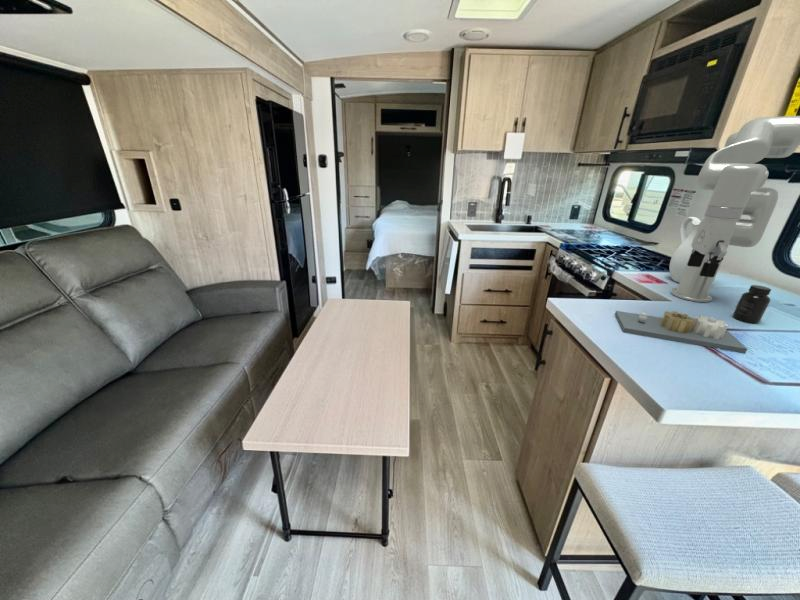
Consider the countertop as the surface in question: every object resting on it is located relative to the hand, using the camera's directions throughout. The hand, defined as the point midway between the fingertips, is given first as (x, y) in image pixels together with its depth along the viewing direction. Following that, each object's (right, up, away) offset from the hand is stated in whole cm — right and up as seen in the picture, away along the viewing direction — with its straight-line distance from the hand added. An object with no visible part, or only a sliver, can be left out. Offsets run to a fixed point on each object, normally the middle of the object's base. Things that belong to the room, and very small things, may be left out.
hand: (699, 271), depth 98 cm
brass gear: (-3, -17, +5) cm, 18 cm away
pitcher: (+42, +1, +54) cm, 68 cm away
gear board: (-3, -19, +6) cm, 20 cm away
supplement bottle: (+30, -16, +16) cm, 37 cm away
